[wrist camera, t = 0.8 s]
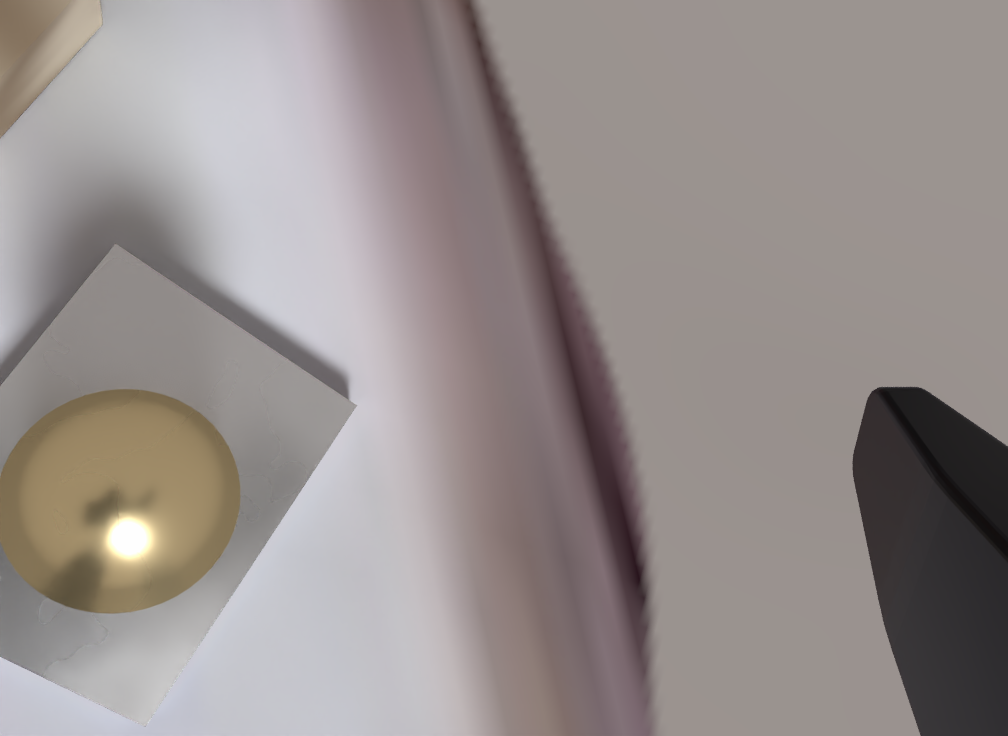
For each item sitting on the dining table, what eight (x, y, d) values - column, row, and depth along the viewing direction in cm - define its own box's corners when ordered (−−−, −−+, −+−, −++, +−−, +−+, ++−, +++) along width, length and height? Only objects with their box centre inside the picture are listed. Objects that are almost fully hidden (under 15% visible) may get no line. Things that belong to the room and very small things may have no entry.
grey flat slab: (145, 716, 20) (145, 727, 19) (-145, 574, 18) (-157, 580, 17) (349, 406, 22) (356, 405, 21) (116, 250, 20) (115, 243, 19)
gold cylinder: (154, 599, 19) (155, 654, 15) (-8, 512, 18) (-62, 542, 13) (252, 455, 20) (282, 464, 16) (106, 365, 19) (92, 345, 15)
